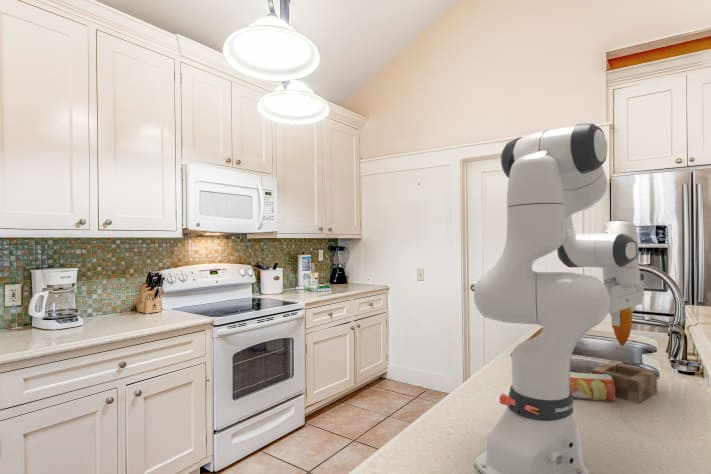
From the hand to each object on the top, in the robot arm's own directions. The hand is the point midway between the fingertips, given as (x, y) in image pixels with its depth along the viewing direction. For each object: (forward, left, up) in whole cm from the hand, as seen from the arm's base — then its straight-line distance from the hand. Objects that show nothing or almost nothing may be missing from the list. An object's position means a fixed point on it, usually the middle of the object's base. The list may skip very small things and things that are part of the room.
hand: (621, 323), depth 117 cm
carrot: (0, 0, -7) cm, 7 cm away
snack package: (-14, +8, -20) cm, 26 cm away
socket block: (0, 0, -20) cm, 20 cm away
